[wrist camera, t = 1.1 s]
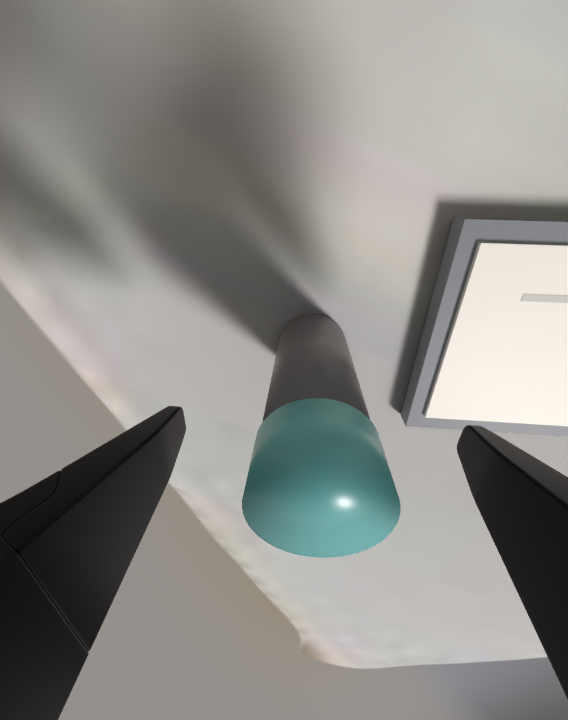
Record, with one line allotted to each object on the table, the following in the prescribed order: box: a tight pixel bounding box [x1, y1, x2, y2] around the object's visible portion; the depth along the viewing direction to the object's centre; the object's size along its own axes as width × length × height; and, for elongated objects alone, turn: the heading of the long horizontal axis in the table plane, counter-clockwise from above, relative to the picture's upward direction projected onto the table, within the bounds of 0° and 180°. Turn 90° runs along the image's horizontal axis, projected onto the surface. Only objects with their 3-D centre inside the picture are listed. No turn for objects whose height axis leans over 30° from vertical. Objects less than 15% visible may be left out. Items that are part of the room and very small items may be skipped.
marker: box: [242, 314, 400, 557], centre depth 11 cm, size 4×4×9 cm
